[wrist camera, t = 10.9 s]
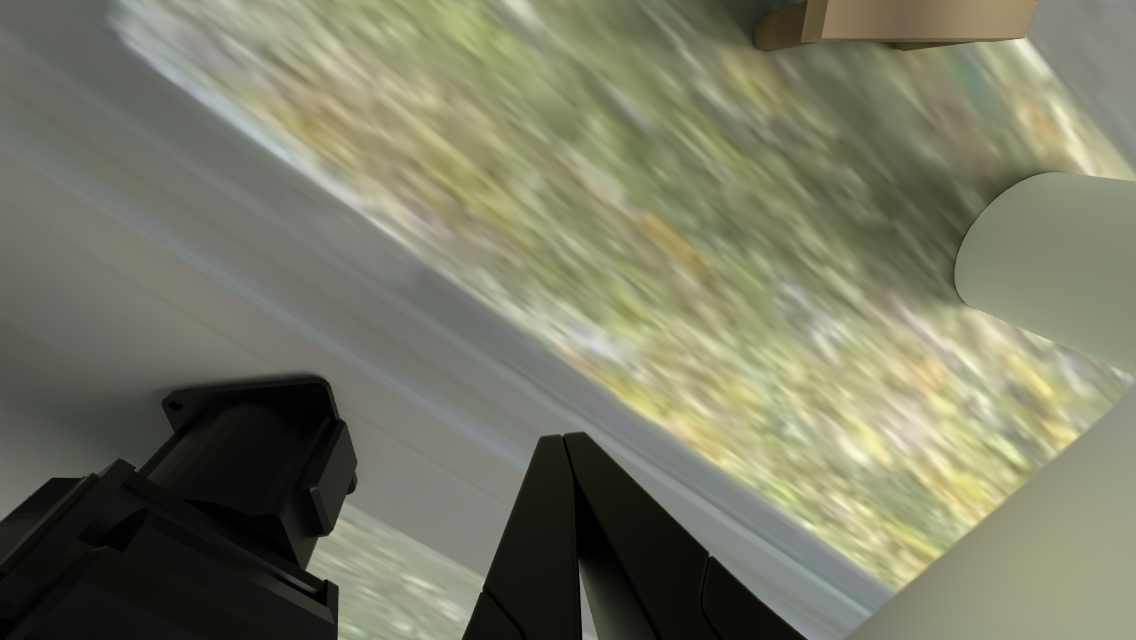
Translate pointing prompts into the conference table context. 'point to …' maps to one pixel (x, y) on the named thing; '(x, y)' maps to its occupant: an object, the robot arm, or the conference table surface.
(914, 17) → the stool
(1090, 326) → the cylindrical container
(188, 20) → the conference table surface
